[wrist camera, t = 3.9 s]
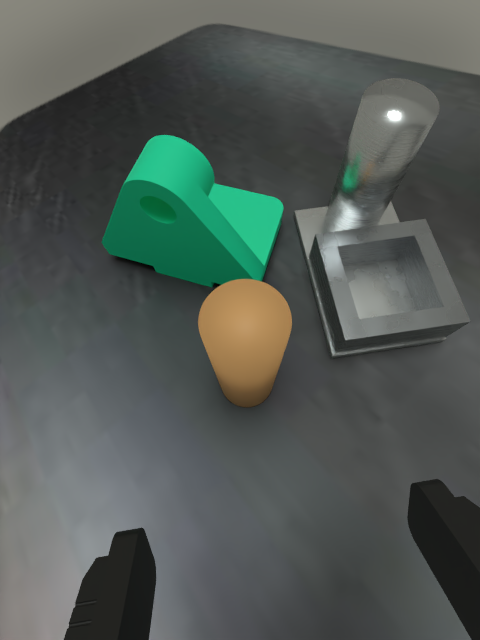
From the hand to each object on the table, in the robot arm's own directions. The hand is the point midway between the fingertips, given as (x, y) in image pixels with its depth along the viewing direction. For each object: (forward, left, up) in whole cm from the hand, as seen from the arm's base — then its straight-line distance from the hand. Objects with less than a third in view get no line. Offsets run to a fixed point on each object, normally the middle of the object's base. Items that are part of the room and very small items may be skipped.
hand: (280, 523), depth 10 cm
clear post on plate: (-16, -7, -11) cm, 20 cm away
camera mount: (-8, -17, -12) cm, 22 cm away
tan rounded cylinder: (-3, -6, -11) cm, 13 cm away
